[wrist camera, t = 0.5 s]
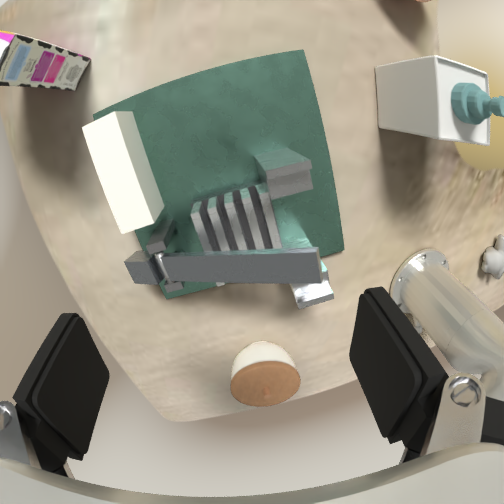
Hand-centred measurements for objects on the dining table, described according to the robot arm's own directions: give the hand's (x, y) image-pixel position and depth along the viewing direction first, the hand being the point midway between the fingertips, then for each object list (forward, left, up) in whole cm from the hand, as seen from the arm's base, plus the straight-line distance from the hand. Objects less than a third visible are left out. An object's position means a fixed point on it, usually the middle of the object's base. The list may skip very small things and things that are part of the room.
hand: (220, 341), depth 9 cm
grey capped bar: (-6, +3, -19) cm, 20 cm away
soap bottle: (+5, -26, -29) cm, 39 cm away
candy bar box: (+23, +17, -29) cm, 40 cm away
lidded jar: (-30, +3, -29) cm, 42 cm away
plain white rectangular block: (+5, +10, -27) cm, 29 cm away
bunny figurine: (-27, -51, -29) cm, 64 cm away
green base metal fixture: (-1, 0, -28) cm, 28 cm away
